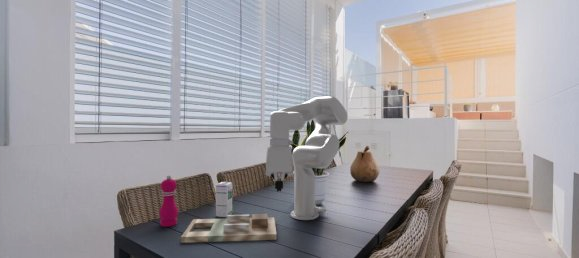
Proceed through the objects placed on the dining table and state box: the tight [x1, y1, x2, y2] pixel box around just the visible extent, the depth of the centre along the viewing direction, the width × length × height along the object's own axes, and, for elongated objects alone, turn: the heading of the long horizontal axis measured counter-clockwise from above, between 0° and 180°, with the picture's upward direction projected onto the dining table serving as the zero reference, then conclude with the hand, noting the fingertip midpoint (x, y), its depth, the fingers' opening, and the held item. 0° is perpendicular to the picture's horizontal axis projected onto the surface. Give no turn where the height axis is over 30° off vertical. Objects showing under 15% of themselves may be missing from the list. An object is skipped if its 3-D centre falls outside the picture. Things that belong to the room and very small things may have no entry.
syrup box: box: [215, 181, 234, 218], centre depth 127 cm, size 6×6×14 cm
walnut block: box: [251, 213, 269, 229], centre depth 109 cm, size 6×6×4 cm
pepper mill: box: [158, 174, 179, 228], centre depth 115 cm, size 7×7×20 cm
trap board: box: [180, 214, 277, 244], centre depth 108 cm, size 33×18×4 cm, turn 96°
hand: (278, 190), depth 109 cm, fingers closed
